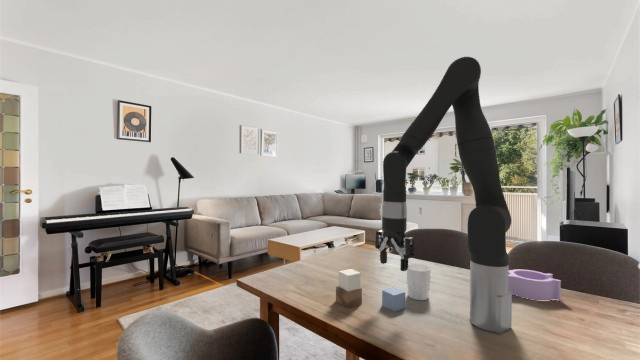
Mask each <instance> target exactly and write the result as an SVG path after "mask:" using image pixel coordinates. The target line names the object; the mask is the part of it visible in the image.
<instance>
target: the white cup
mask: <svg viewBox="0 0 640 360" xmlns="http://www.w3.org/2000/svg"><path fill="white" fill-rule="evenodd" d="M431 273H432V271H431V267H430V266H428V265H426V264H419V263H412V264H411V263H410V264H408V269H407V270H406V285H407V295H408V297H409V298H410V299H412V300H416V301H426V300H428V299H429V298H430V290H431V289H430V288H431V287H430V286H431Z"/></svg>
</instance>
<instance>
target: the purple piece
mask: <svg viewBox="0 0 640 360" xmlns="http://www.w3.org/2000/svg"><path fill="white" fill-rule="evenodd" d="M553 275H554V274H553V273H544V272H541V271H537V270H531V269H518V268H517V269H508V292H511V293H512V295H517V296H520V297H524V298H528V299H533V300H551V299H558V300H560V299H561V298H562V297H561V292H562V290H561V288H562V287H561V286H562V280H560V279H558V278H557V279H556V278H554V277H553ZM520 297H519V298H520Z"/></svg>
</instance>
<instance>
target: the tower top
mask: <svg viewBox="0 0 640 360" xmlns="http://www.w3.org/2000/svg"><path fill="white" fill-rule="evenodd" d="M361 283H362V282H361V272H359V271H357V270H356V269H352V268H349V269H348V268H347V269H344V270H340V271H338V286H339V287H341V288H342V289H344V290H346V291H348V292H349V291H352V290H356V289H360V288H362V287H361Z"/></svg>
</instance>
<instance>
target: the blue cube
mask: <svg viewBox="0 0 640 360" xmlns="http://www.w3.org/2000/svg"><path fill="white" fill-rule="evenodd" d="M381 292H382V293H381V306H383V307H384V308H386V309H388V310H390V311H391V312H397V311H400V310H402V309H405V308H406V292H405V291H404V290H402V289H399V288H397V287H394V286H392V287H388V288H386V289H382V291H381Z"/></svg>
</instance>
